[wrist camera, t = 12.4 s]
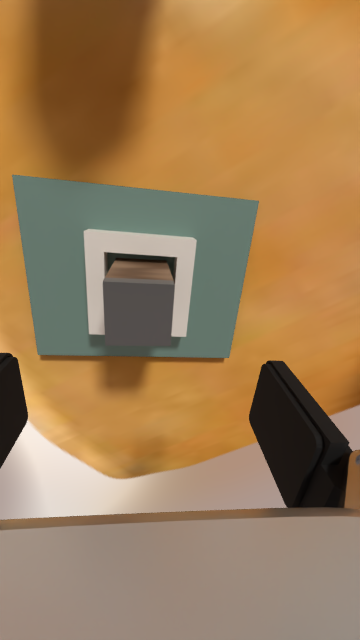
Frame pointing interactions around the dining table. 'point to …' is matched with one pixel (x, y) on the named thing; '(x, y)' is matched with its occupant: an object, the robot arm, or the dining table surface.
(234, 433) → the dining table surface
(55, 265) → the socket board
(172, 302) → the grey metal plug
